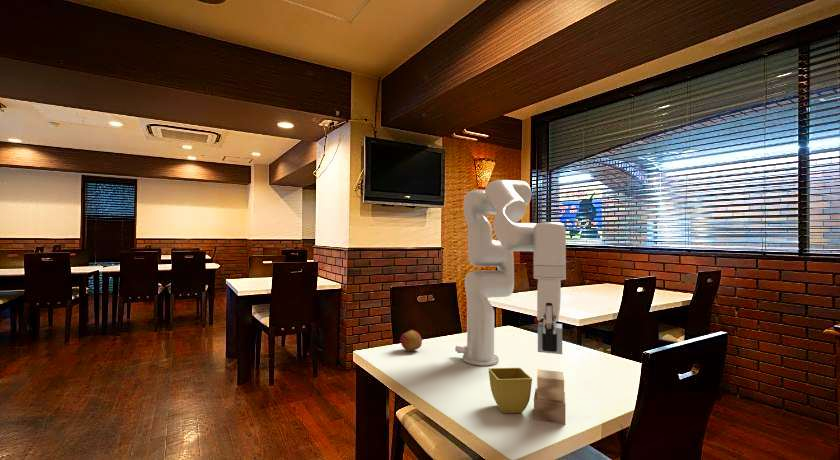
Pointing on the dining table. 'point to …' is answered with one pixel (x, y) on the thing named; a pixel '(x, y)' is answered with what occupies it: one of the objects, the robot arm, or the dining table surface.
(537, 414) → the brown wooden block
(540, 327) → the slate block
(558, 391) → the oak middle block
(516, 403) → the flower pot
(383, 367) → the dining table surface
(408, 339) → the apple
